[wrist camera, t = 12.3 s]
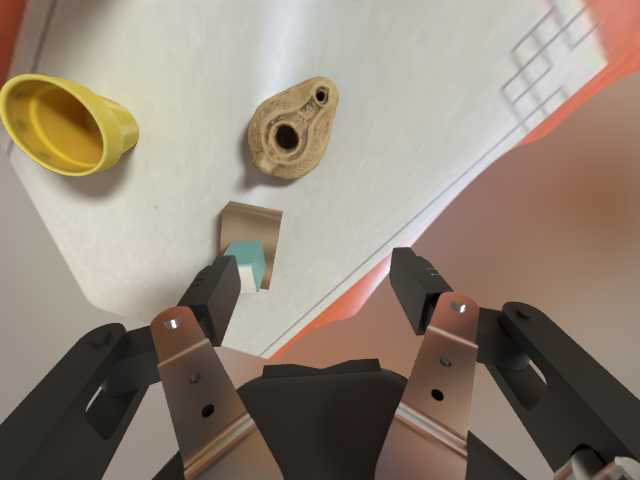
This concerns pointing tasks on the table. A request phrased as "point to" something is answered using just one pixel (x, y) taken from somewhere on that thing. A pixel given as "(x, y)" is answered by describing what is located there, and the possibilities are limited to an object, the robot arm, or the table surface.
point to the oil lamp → (293, 128)
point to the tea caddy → (249, 264)
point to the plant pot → (65, 124)
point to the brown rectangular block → (252, 231)
